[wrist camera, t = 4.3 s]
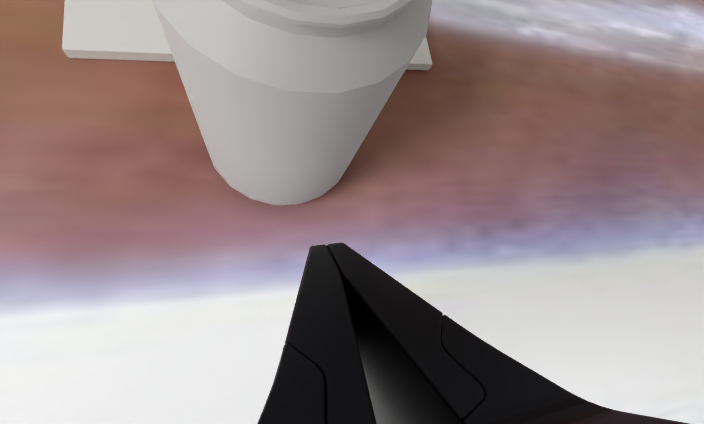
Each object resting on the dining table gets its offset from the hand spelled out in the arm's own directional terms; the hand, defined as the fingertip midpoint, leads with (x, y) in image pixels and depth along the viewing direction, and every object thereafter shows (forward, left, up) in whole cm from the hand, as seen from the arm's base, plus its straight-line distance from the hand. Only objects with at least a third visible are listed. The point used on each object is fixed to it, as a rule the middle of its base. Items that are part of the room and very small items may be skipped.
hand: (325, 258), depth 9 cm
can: (+2, -7, -9) cm, 12 cm away
